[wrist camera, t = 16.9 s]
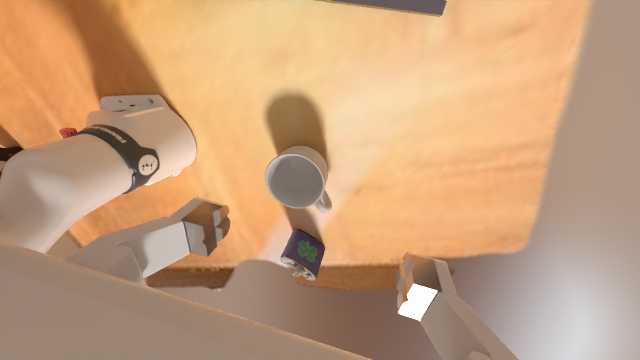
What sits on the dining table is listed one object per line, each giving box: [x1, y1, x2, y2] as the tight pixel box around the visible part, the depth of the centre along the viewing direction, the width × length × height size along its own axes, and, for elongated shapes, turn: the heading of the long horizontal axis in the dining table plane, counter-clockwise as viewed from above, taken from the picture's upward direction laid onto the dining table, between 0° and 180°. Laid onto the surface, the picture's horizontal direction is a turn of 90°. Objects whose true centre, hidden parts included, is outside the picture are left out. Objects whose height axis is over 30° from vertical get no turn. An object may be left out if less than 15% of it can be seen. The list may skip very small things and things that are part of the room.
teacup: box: [265, 146, 332, 213], centre depth 44 cm, size 14×11×8 cm
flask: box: [281, 229, 325, 281], centre depth 52 cm, size 9×3×11 cm, turn 57°
